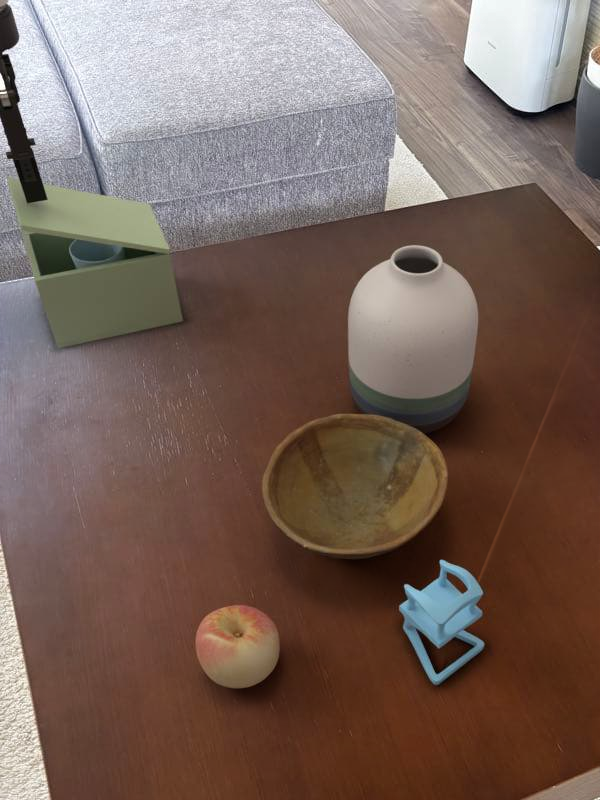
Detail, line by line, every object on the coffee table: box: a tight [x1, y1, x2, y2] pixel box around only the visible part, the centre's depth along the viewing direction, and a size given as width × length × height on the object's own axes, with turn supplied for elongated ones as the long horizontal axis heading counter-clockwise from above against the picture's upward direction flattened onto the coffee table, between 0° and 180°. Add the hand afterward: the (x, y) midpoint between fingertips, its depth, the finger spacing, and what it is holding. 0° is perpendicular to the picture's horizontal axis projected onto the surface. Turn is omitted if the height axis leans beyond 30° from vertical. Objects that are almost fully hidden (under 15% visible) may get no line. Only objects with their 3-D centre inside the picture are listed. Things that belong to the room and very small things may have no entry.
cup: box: [69, 239, 125, 269], centre depth 130 cm, size 8×8×10 cm
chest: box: [21, 231, 184, 349], centre depth 130 cm, size 19×13×12 cm
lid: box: [7, 176, 171, 254], centre depth 122 cm, size 20×13×1 cm, turn 113°
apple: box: [195, 604, 281, 689], centre depth 93 cm, size 9×9×8 cm
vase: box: [347, 244, 479, 435], centre depth 114 cm, size 17×17×24 cm
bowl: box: [261, 413, 449, 560], centre depth 105 cm, size 22×23×10 cm
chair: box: [398, 559, 485, 686], centre depth 94 cm, size 8×8×12 cm
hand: (36, 198), depth 117 cm, fingers closed
